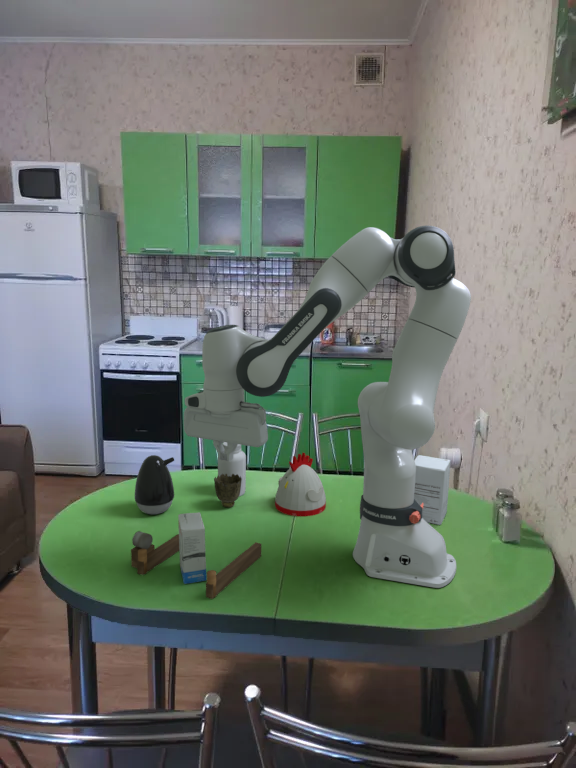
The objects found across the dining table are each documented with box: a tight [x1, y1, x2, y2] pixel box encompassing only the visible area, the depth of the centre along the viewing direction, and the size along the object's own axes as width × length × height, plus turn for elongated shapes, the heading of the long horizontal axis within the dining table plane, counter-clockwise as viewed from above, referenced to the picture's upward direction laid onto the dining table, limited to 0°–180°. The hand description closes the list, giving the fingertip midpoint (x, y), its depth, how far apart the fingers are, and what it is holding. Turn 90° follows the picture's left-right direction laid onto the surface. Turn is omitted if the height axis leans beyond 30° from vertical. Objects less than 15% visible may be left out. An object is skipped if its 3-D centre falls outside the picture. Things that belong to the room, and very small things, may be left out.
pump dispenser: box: [134, 454, 175, 515], centre depth 145 cm, size 10×10×15 cm
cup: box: [213, 474, 242, 508], centre depth 149 cm, size 8×7×8 cm
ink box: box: [177, 511, 207, 585], centre depth 115 cm, size 9×5×12 cm, turn 16°
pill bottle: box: [217, 442, 247, 497], centre depth 157 cm, size 8×8×15 cm
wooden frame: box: [130, 530, 262, 600], centre depth 120 cm, size 22×19×7 cm
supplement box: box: [414, 455, 451, 526], centre depth 145 cm, size 9×9×15 cm
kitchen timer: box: [274, 452, 327, 517], centre depth 149 cm, size 14×14×15 cm
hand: (225, 459), depth 123 cm, fingers closed
